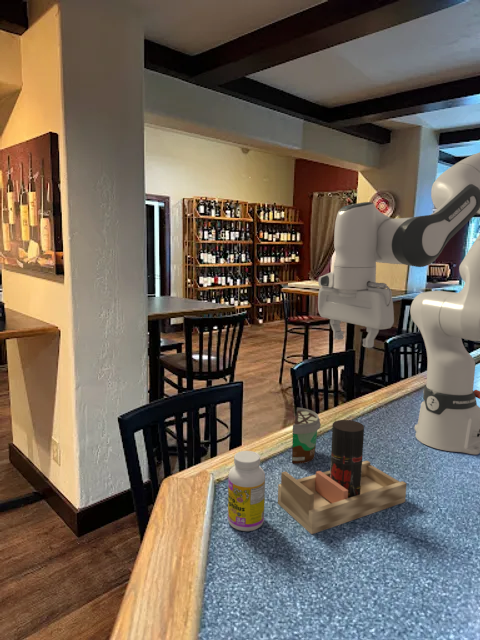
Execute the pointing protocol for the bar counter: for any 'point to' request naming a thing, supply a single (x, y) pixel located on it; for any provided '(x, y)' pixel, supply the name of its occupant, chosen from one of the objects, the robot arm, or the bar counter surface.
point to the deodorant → (347, 455)
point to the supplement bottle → (246, 492)
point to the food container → (304, 436)
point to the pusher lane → (324, 514)
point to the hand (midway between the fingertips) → (352, 342)
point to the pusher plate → (330, 488)
